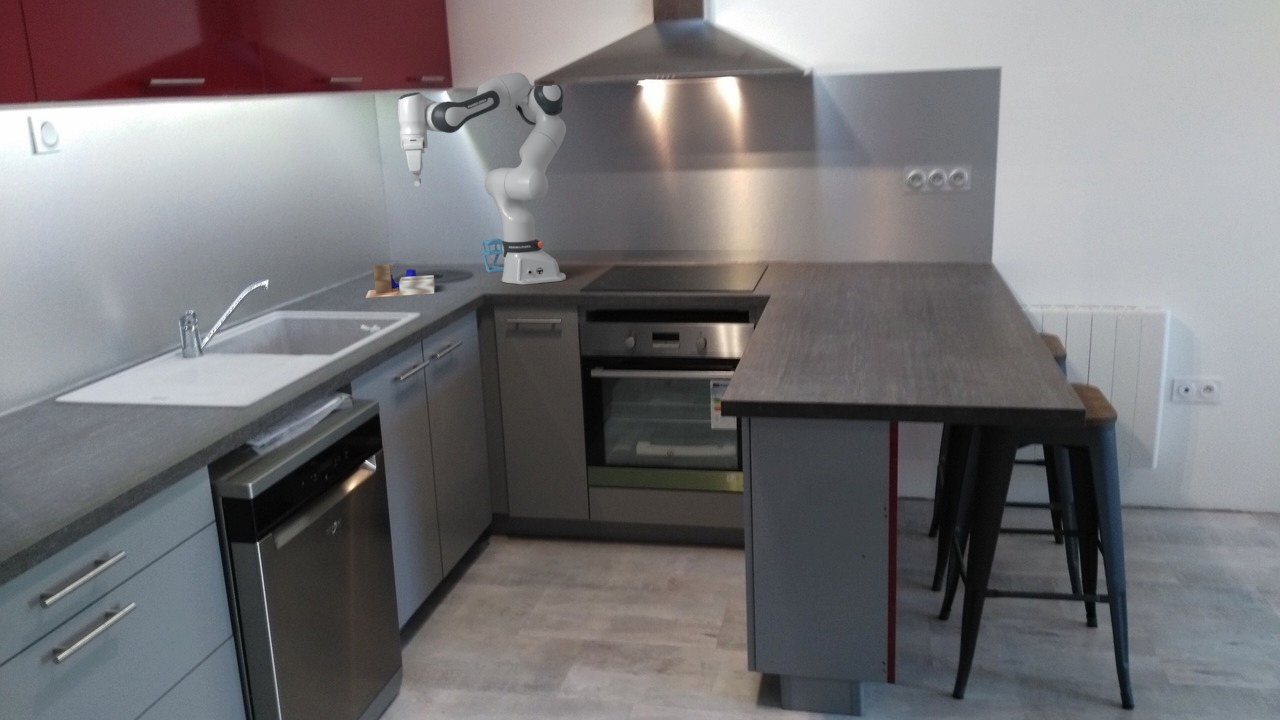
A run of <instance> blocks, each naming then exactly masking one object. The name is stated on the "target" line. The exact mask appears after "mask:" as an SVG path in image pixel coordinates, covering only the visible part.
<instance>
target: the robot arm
mask: <svg viewBox="0 0 1280 720" xmlns="http://www.w3.org/2000/svg"><path fill="white" fill-rule="evenodd" d="M563 90H564V89H563V87H562V86H561V85H560V84H559V85H552V86H536V85H535V86H534V85H532V84H531V83H530V80H529V79H528V77H527V76H526V75H525V74H524V73H521V72H510V73H506V74H502V75H499V76H496V77H493V78H490V79H488V80H486V81H485V82H483V83H481V84H480V85H479V86H478V87H477V92H476V95H475V96H472V97H469V98H468V99H465V100H462V101H460V102H459V101H457V102H456V101H451V100H450V101H443V102H442V101H441V102H440V101H439V102H438V101H436V100H432V99H430V98H428V97H426V96H425V95H424V94H422V93H421V92H417V91H416V92H409V93H406V94H403V95H401V96H400V97H399V98H398V102H397V115H398V116H397V118H398V124H399V126H400V127H399V128H400V129H399V130H400V131H399V140H400V141H399V142H400V149H401V150H404V151H405V152H404V153H405V155H406V162H407V166H408V170H409V173H410V174H412V178H413V186H414V187H420V185H421V183H422V180H421V179H422V178H421V177H422V176H421V175H422V174H421V172H422V170H423V167H424V166H423V154H425V149H427V148H429V145H428V144H429V143H428V133H427V132H428V131H431V132H437V133H438V132H440V133H446V134H454V133H455V132H458V131H459V130H460V129H461V128H462V127H463V126H464V125H465V124H466V123H467V122H468V121H470V120H473V119H474V118H477V117H479V116H481V115H484V114H487V113H495V112H500V111H503V110H506V109H508V108H511V107H514V106H515V110H516V111H517V112H518V113H519V116H520V117H521V119H522V120H523V121H524V122H525V123H527V125H529V126H534V127H533V129H532V130H531V132H530V134H529V135H528V136H527V138H526V139H525V140H524V143H523V144H522V145H521V146H520V148H519V158H520V160H521V162H520V164H519V165H518V166H517V167H499V168H495V169H492V170H490V171H489V172H487V174H486V176H485V178H484V187H485V191H486V192H487V194H488V195H489V196H490V197H491V198H492V199H493V200H494V203H495V204H496V206H497V208H498V211H499V214H500V218H501V225H502V235H503V240H502V241H503V243H502V251H503V254H502V255H503V258H504V259H503V260H504V261H503V267H504V270H503V271H502V277H501V282H503V283H507V284H516V285H517V284H518V285H530V284H531V285H532V284H540V283H541V284H542V283H551V282H553V283H554V282H562V281H565V280H566V279H567V276H566V274H565V273H564V272H560V267H559V264H558V262H557V259H555V258H554V257H552V255H550V254H548V253H547V252H545V251H544V250H543V249H542V248H543V247H544V242H543V241H542V240H539V239H536V229H535V228H536V227H535V217H534V215H533V214H532V213H531V212H530V211H529V210H528V209H527V206H525V205H526V204H525V203H524V202H531V201H536V200H541V199H542V198H544V197H545V196H546V195H547V192H548V189H549V179H548V178H547V176H546V171H547V169H548V166H549V165H550V162H551V161H552V160H553V158H554V157H555V155H556V153H557V152H558V150H559V148H560V147H561V145H562V143H563V141H564V138H565V136H566V134H567V133H566V132H567V125H566V123H565V121H564V120H563V119H562V118H561V117H560V116H559V114H561V113H562V111H563V103H564V91H563Z"/></svg>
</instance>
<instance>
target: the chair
mask: <svg viewBox="0 0 1280 720" xmlns="http://www.w3.org/2000/svg"><path fill="white" fill-rule="evenodd" d="M502 244H503V240H502V239H501V238H492V239H484V240H482V242H481V245H482V247H483V248H482V249H483V250H482V251H481V252H480V253H481V255H482V257H483V261H484V264H485V265H484V266H485V270H486V272H487V273H497V272H503V270H504V266H496V264H497V261H498V259H499V256H500V255H503V248H502ZM485 245H486V246H485ZM493 245H494V249H491V246H493ZM497 245H500V246H499V249H498V247H497ZM486 247H487V250H486ZM492 255H495V258H494V261H493V263H492V265H491V269H490V267H489V264H488V259H487V256H492Z"/></svg>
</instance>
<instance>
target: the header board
mask: <svg viewBox="0 0 1280 720" xmlns="http://www.w3.org/2000/svg"><path fill="white" fill-rule="evenodd" d="M435 288H436V287H435V275H433V274H432V275H416V276H413V277H406V276H401V277H400V279H399V287H398V288H392V293H378V294H376V290H375V289H371V290H370V289H369V290H368V291H367V294H366V296H365V298H366V299H367V298H380V297H398V296H413V295H430V294H435V290H436V289H435Z"/></svg>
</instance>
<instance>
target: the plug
mask: <svg viewBox="0 0 1280 720" xmlns="http://www.w3.org/2000/svg"><path fill="white" fill-rule="evenodd" d="M372 267H373V278H374V279H373V280H374V287H375V289H374V290H376V294H378V293H392V289H393V288H392V280H391V274H392V273H391V264H390V263H389V264H374V265H373V266H372Z"/></svg>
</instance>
